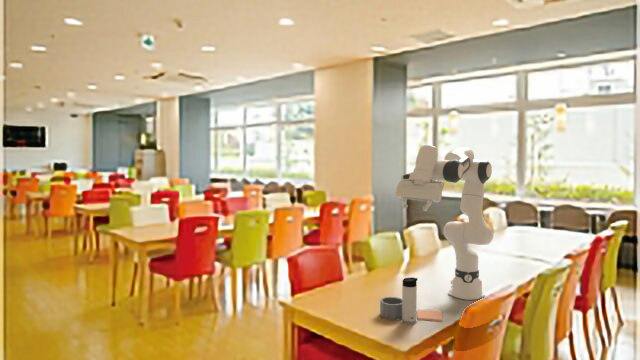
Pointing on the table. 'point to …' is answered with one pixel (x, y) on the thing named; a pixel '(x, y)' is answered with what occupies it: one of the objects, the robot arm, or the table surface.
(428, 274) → the table surface
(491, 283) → the table surface
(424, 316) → the terracotta tile
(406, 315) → the travel mug
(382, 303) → the faceted gray cup
